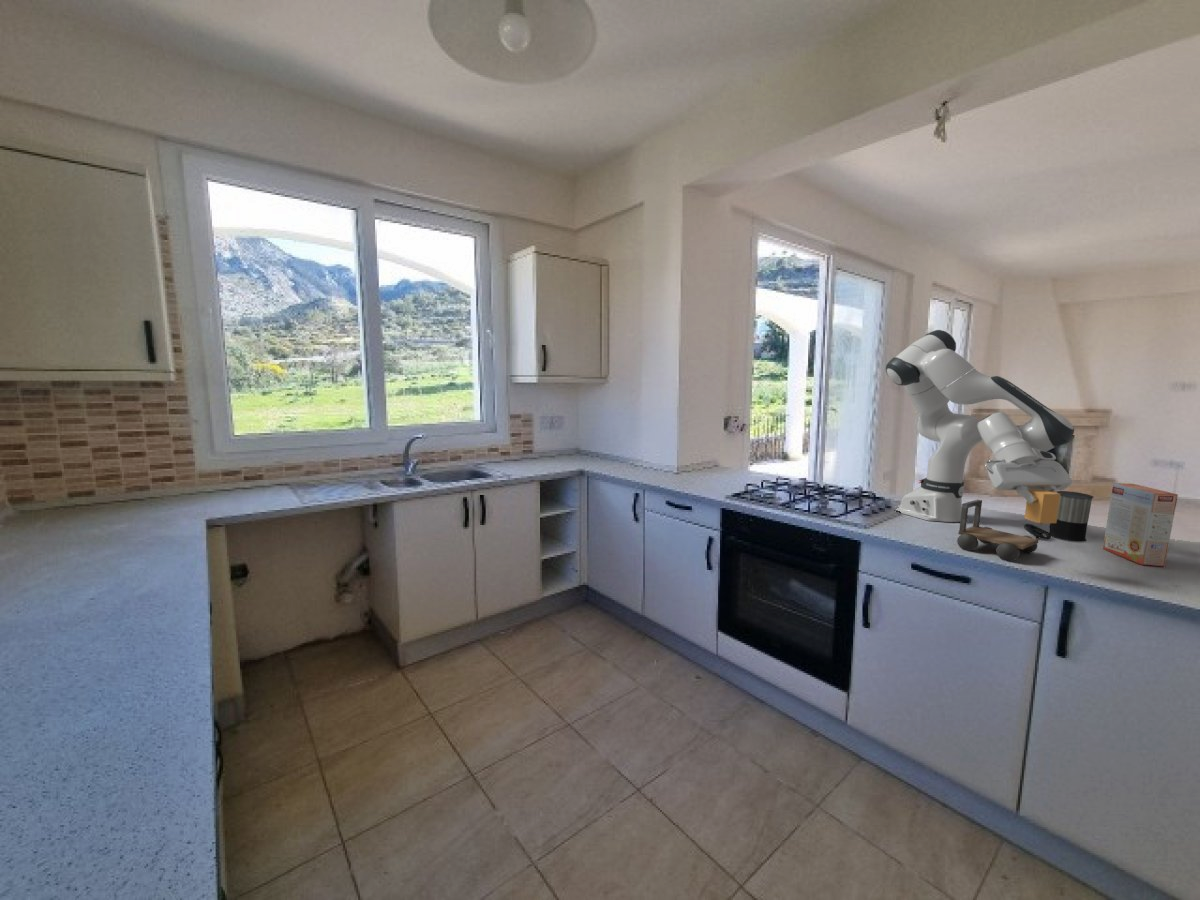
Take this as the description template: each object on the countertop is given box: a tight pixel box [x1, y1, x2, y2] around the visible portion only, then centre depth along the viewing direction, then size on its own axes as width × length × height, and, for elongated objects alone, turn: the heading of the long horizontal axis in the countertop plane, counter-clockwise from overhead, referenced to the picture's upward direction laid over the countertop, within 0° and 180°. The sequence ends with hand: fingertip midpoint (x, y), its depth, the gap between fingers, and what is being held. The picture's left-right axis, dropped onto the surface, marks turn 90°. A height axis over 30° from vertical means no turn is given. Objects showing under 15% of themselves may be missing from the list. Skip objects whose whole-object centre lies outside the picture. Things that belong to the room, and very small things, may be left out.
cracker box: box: [1102, 482, 1179, 567], centre depth 143 cm, size 14×6×21 cm, turn 168°
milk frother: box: [1023, 490, 1094, 543], centre depth 161 cm, size 14×16×15 cm
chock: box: [1024, 490, 1060, 524], centre depth 134 cm, size 5×5×8 cm
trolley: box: [956, 499, 1039, 562], centre depth 148 cm, size 16×14×14 cm
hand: (1044, 502), depth 133 cm, fingers closed on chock, 5 cm apart
